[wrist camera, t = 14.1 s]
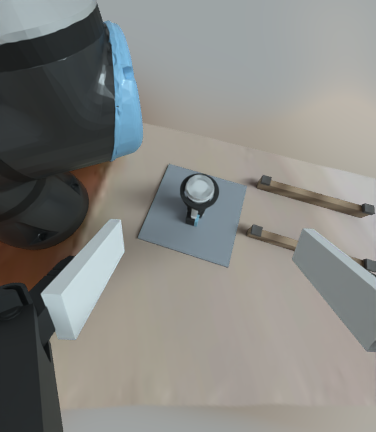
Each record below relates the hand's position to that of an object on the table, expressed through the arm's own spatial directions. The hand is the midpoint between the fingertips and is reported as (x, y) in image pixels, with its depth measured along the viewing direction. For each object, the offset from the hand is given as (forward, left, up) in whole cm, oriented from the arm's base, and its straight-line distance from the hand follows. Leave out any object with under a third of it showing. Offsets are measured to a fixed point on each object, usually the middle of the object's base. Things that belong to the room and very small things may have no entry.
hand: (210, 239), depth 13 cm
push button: (-3, +9, -18) cm, 20 cm away
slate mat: (-3, +9, -18) cm, 20 cm away
